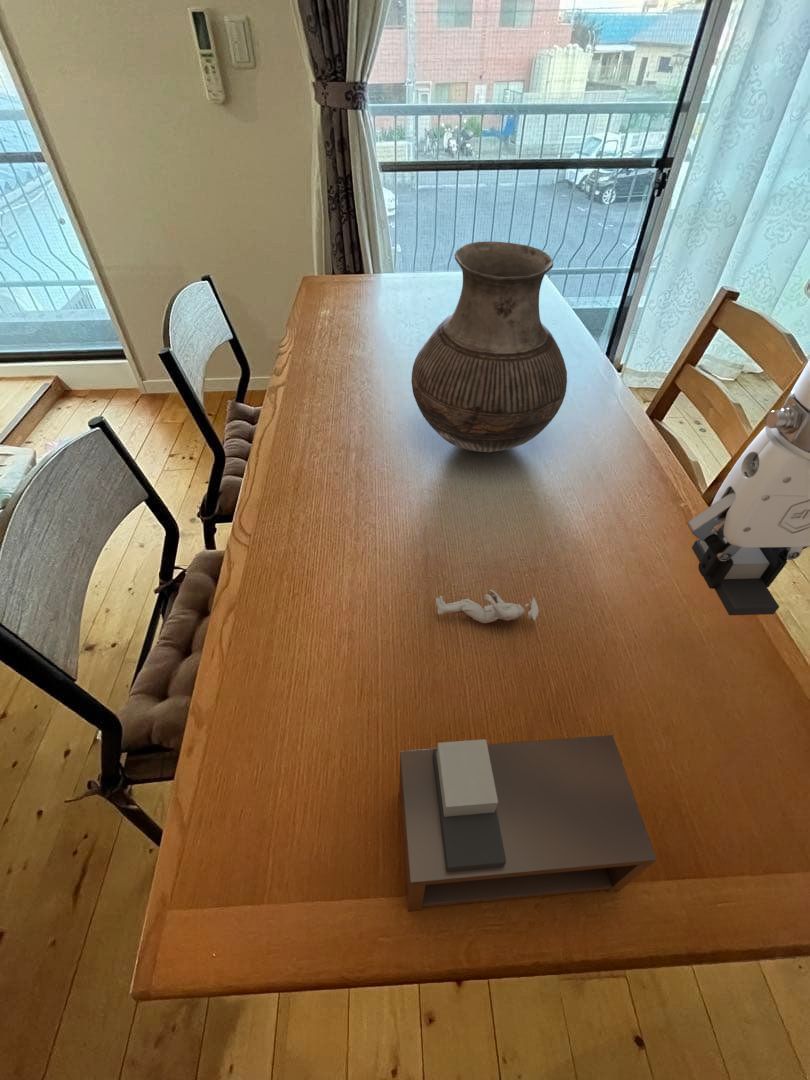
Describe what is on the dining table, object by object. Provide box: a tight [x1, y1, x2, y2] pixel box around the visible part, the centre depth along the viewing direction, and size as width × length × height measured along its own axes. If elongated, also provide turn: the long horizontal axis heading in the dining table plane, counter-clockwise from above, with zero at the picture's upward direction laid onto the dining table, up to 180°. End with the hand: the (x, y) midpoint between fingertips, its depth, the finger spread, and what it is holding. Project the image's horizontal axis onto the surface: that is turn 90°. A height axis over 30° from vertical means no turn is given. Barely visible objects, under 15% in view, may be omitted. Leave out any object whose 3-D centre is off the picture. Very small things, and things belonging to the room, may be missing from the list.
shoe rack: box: [398, 734, 658, 912], centre depth 49 cm, size 10×19×10 cm, turn 95°
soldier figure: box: [435, 589, 540, 624], centre depth 69 cm, size 8×5×12 cm
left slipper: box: [432, 738, 506, 872], centre depth 44 cm, size 9×4×3 cm, turn 5°
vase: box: [411, 240, 568, 453], centre depth 86 cm, size 25×25×30 cm
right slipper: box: [691, 537, 780, 616], centre depth 55 cm, size 9×4×3 cm, turn 2°
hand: (732, 576), depth 56 cm, fingers closed on right slipper, 4 cm apart
